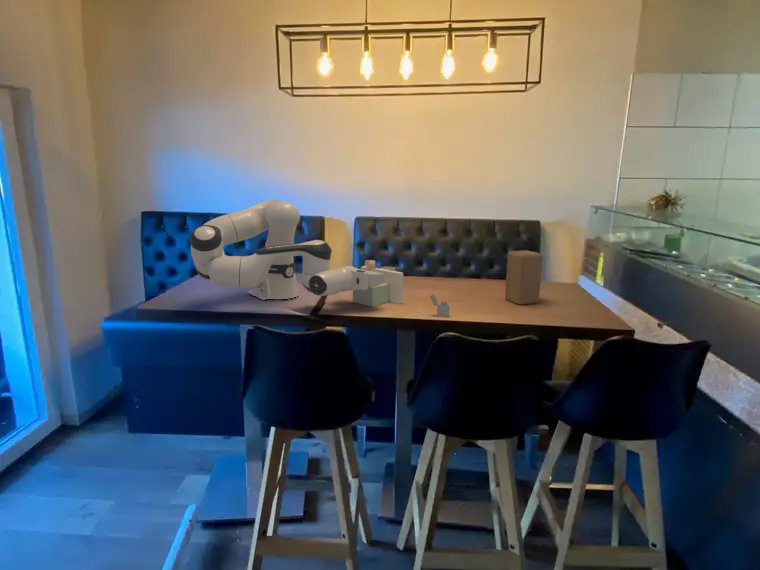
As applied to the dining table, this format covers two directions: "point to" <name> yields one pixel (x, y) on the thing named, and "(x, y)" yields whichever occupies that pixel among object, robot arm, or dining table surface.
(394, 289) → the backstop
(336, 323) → the dining table surface
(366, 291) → the green square bin
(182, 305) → the dining table surface
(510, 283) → the wooden block
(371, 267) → the dowel
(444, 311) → the lighter
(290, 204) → the robot arm
